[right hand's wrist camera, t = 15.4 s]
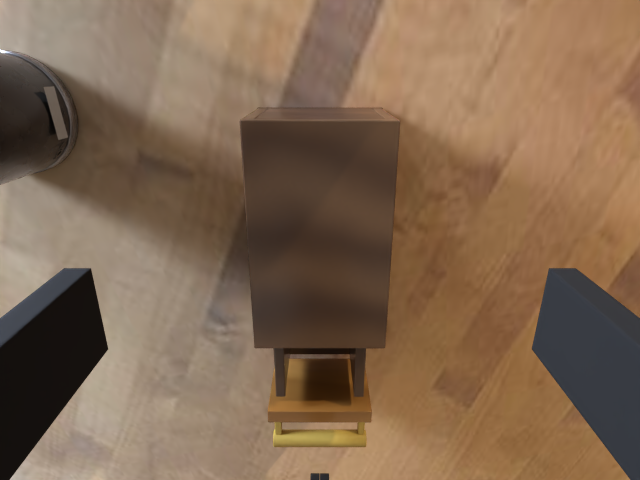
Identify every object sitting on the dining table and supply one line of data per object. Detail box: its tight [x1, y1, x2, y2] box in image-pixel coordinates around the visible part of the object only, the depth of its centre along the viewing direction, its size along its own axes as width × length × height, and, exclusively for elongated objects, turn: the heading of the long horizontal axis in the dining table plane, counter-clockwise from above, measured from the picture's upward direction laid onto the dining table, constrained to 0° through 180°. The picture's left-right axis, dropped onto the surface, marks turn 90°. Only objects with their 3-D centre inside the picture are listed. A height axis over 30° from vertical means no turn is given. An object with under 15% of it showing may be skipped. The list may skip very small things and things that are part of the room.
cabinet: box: [240, 108, 400, 348], centre depth 34 cm, size 17×10×9 cm, turn 0°
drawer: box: [268, 348, 372, 447], centre depth 38 cm, size 22×9×7 cm, turn 0°
